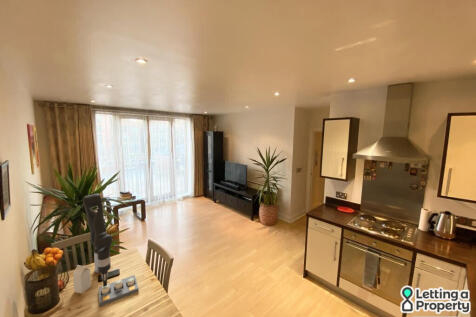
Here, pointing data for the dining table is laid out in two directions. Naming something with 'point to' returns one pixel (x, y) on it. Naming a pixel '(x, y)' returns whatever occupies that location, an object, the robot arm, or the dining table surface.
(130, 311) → the dining table surface
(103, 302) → the button board
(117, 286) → the button
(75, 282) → the milk carton
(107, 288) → the button
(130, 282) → the button
